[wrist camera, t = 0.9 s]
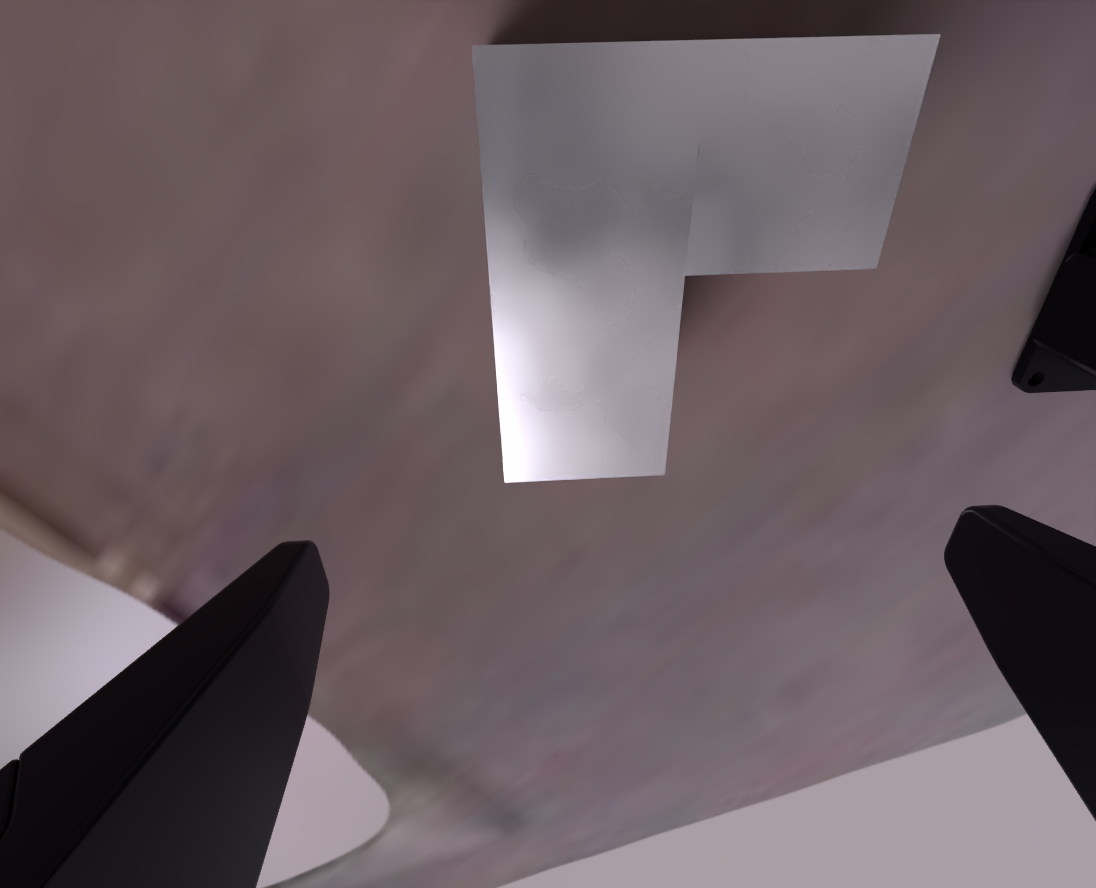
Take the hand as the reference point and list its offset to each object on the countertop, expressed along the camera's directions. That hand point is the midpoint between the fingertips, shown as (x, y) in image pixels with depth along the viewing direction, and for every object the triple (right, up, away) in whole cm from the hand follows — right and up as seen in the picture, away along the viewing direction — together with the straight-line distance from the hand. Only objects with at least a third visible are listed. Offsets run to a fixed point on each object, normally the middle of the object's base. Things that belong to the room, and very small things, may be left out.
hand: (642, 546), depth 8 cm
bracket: (+1, +7, +8) cm, 11 cm away
